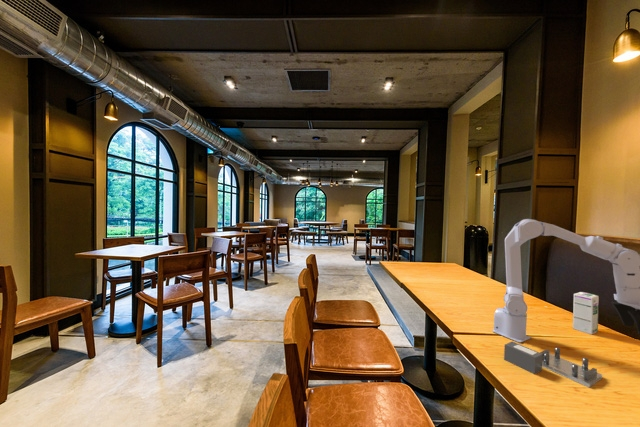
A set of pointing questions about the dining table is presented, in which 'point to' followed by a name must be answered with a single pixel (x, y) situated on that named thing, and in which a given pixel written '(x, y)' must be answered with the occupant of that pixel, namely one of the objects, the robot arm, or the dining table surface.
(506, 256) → the robot arm
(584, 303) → the syrup box
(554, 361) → the pin tray
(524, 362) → the block
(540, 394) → the dining table surface
